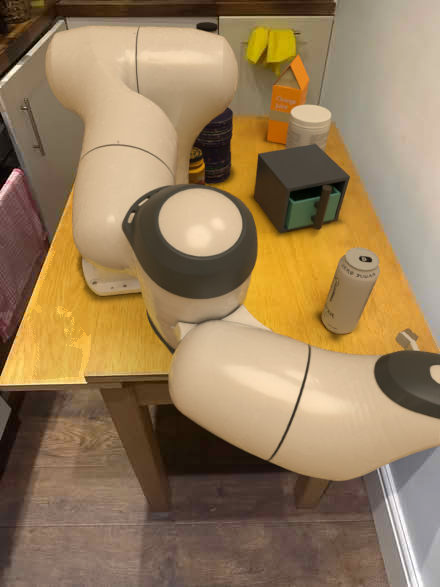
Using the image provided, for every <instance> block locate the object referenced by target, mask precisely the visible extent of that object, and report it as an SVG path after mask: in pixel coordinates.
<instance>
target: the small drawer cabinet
mask: <svg viewBox="0 0 440 587" xmlns="http://www.w3.org/2000/svg"><path fill="white" fill-rule="evenodd" d="M350 179H351V176H350V175H349V174H348V173H347V172H346V170H344V169H343V168H342V167H341V166H340V165H339V164H338V163H337V162H336V161H334V159H332V157H330V156H329V154H327V152H326V151H325V152H324V151H323V150H322V149H321V148H320V147H319V146H318V145H316V144H312V145H306V146H300V147H294V148H288V149H285V148H283V149H277V150H272V151H266V152H259V153H258V154H257V162H256V172H255V181H254V182H255V183H254V192H253V198H254V200H255V201H256V202H257V204H258V205H259V206H260V208H261V209H262V211H263V212H264V214H265V215H266V216H267V218H268V219H269V221H270V222H271V223H272V225H273V226H274V227H275V229H276V230H277V232H278V233H279V234H284V233H289V232H294V231H297V230H302V229H306V228H312V227H313V224H310V225H306V226H301V227H297V228H292V229H287V227H286V226H285V219H286V213H287V208H288V202H289V196H290V191H295V190H300V189H305V188H310V187H315V186H320V185H325V184H330V183H331V184H332V185H333V186H334V187H335V188H336V189H337V190H338V191H339V192H340V193H341V195H340V199H339V202H338V206H337V209H336V213H335V216H334V219H333V220H328V221H324V222H323V224H322V225H325V224H329V223H333V222H337V221H338V220H339V216H340V213H341V209H342V206H343V203H344V199H345V196H346V192H347V188H348V185H349V182H350Z"/></svg>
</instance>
